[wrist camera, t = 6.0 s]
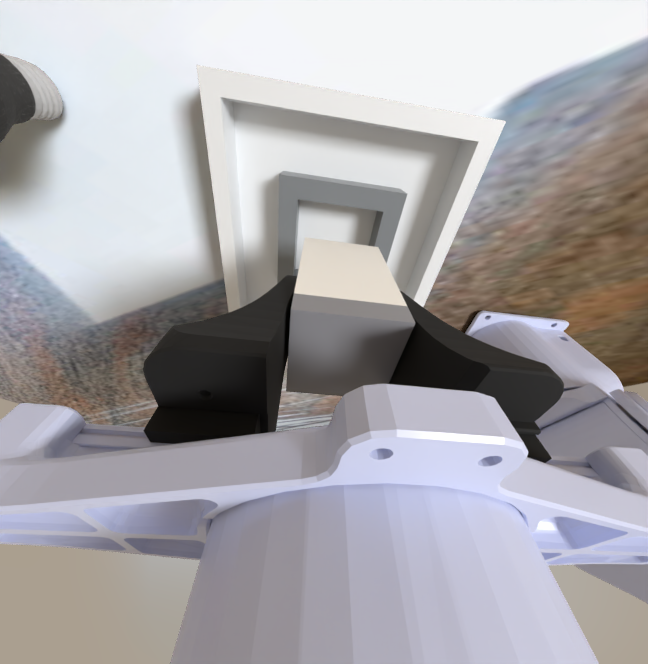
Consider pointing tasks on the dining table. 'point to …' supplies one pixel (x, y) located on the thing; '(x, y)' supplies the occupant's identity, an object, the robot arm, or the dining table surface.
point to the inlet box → (334, 178)
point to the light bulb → (25, 94)
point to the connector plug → (344, 320)
